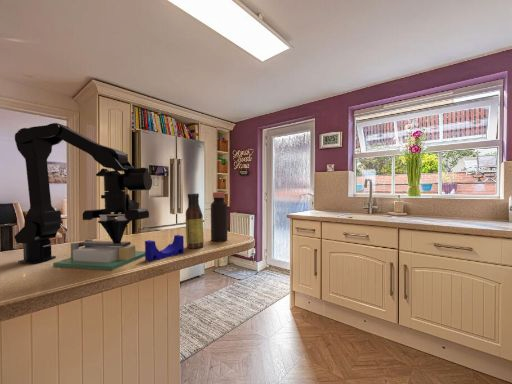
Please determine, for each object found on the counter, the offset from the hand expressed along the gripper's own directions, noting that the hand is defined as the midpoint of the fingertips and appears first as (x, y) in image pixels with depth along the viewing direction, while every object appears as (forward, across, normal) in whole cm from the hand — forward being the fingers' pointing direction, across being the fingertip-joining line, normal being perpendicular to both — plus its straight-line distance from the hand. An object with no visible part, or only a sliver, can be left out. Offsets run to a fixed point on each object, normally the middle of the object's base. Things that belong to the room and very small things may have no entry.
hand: (117, 242), depth 77 cm
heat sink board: (+5, +5, 0) cm, 7 cm away
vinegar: (+6, -20, -34) cm, 40 cm away
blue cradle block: (+6, -11, -8) cm, 15 cm away
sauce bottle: (+6, -15, -21) cm, 27 cm away
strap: (+1, +5, 0) cm, 5 cm away
